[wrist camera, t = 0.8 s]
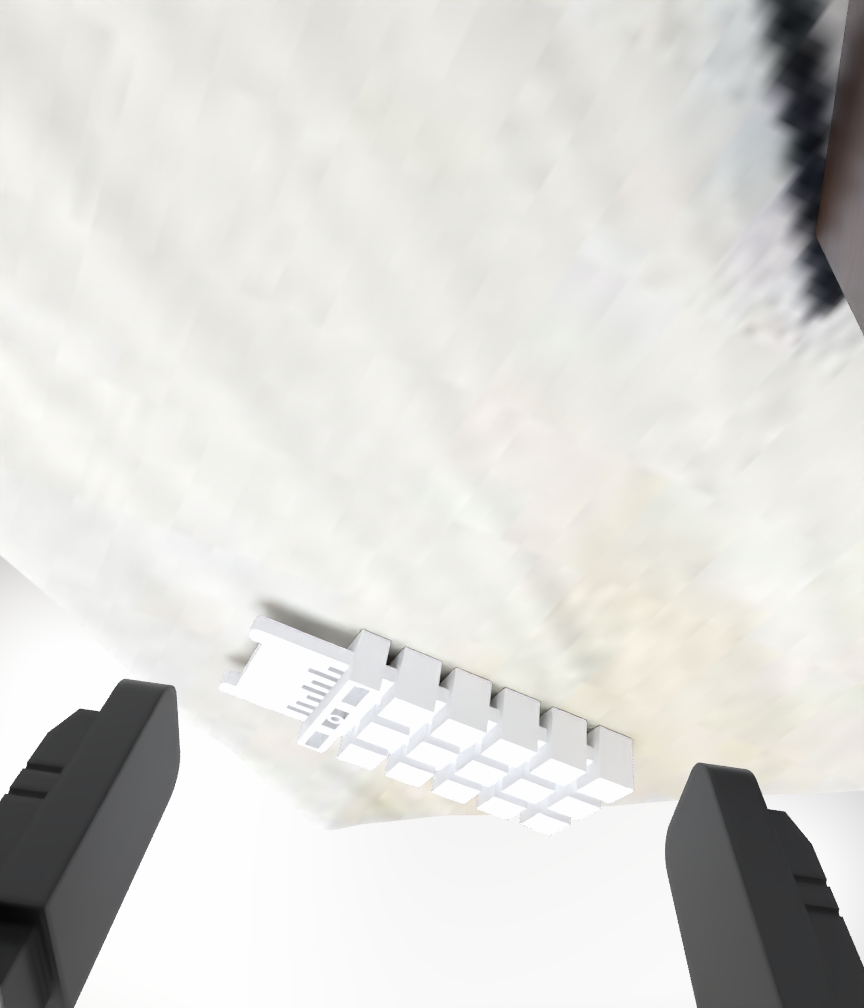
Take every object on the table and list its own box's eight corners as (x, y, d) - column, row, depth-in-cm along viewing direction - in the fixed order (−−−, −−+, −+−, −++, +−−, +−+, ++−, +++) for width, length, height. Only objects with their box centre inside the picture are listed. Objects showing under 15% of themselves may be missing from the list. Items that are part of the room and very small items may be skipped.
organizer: (550, 835, 73) (207, 711, 65) (552, 788, 76) (226, 664, 69) (634, 790, 64) (248, 640, 57) (631, 738, 68) (267, 590, 60)
